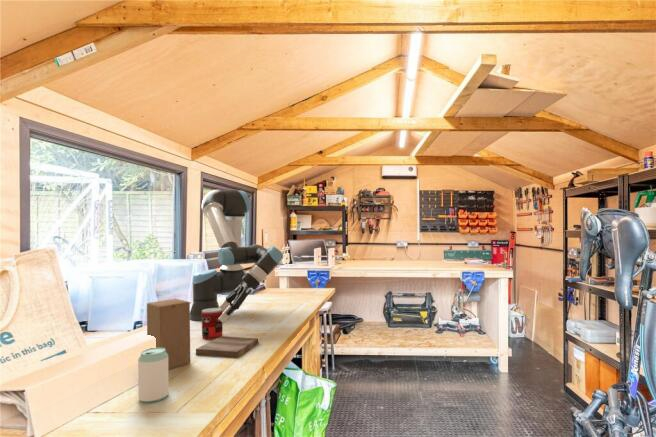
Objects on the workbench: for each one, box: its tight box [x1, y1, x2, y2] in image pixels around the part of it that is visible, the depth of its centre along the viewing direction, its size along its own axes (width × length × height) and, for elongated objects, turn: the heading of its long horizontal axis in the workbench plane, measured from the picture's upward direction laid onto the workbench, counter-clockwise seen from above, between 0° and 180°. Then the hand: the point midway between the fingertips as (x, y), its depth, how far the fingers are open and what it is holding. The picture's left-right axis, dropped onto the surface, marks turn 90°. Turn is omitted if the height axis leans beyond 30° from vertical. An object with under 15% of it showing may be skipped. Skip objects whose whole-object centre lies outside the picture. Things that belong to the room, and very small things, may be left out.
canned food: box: [201, 308, 224, 340], centre depth 152 cm, size 8×8×11 cm
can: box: [137, 348, 170, 404], centre depth 96 cm, size 7×7×12 cm
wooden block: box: [146, 298, 191, 370], centre depth 121 cm, size 10×10×20 cm
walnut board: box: [195, 335, 259, 359], centre depth 135 cm, size 16×16×2 cm
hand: (218, 317), depth 152 cm, fingers open, 13 cm apart
